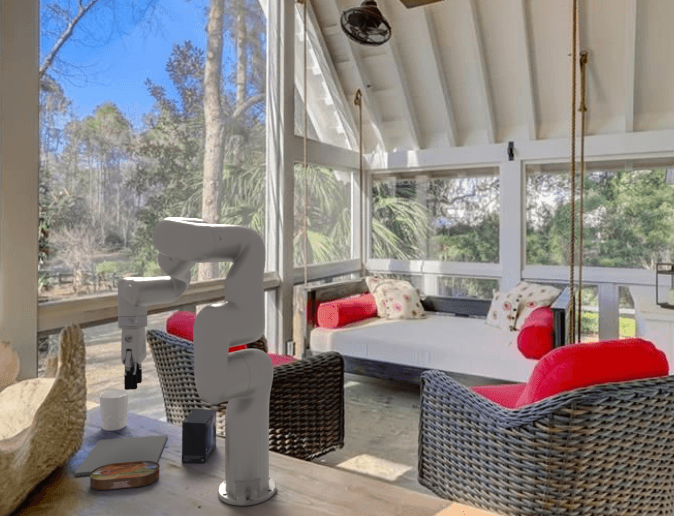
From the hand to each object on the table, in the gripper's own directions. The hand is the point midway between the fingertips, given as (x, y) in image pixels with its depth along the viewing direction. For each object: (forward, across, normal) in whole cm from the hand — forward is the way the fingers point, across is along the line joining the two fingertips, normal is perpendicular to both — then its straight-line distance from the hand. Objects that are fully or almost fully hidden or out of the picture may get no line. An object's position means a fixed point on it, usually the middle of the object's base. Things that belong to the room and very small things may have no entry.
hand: (133, 385), depth 137 cm
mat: (+15, -10, 0) cm, 18 cm away
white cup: (+16, +12, +8) cm, 21 cm away
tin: (+14, -20, -3) cm, 25 cm away
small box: (+16, -13, -19) cm, 28 cm away
